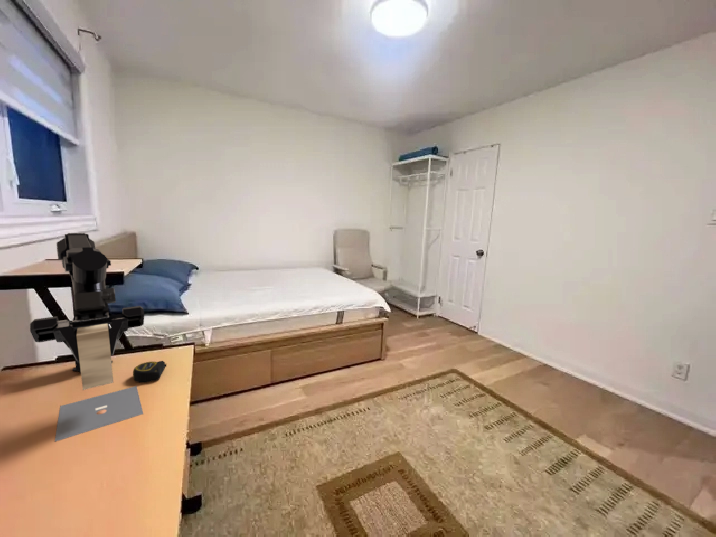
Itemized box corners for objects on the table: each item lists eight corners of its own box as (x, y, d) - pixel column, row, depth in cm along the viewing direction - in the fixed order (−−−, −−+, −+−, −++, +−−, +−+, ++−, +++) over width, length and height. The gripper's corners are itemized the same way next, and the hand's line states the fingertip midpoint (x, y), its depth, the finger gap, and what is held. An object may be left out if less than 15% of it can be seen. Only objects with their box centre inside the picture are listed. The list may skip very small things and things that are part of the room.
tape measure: (159, 383, 81) (159, 370, 80) (129, 387, 79) (128, 373, 78) (167, 371, 88) (166, 359, 87) (138, 374, 85) (137, 361, 85)
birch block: (83, 379, 68) (77, 327, 66) (112, 373, 71) (107, 323, 69) (82, 390, 64) (76, 335, 62) (113, 382, 67) (108, 330, 65)
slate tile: (60, 408, 69) (60, 405, 69) (136, 388, 78) (136, 385, 78) (55, 444, 59) (54, 441, 59) (143, 416, 68) (143, 413, 68)
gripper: (24, 280, 61) (23, 353, 54) (140, 272, 73) (150, 331, 66) (35, 309, 68) (35, 376, 61) (139, 297, 80) (147, 352, 73)
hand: (95, 358), depth 65 cm, fingers closed on birch block, 5 cm apart
